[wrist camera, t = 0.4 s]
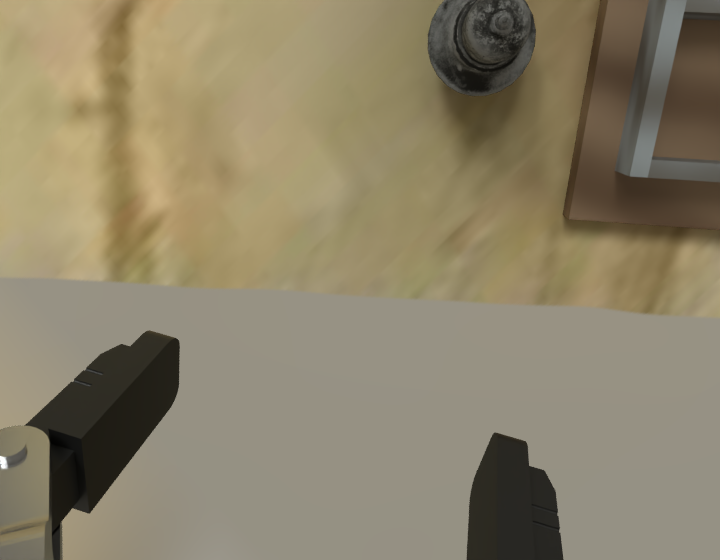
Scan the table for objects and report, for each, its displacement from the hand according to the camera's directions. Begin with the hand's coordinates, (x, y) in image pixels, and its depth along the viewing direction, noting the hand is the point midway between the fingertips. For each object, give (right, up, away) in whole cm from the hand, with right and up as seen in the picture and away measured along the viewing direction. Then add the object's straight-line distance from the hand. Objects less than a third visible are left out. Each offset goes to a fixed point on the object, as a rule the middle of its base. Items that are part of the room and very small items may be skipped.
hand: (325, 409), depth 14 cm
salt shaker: (+8, +18, +20) cm, 28 cm away
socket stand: (+22, +15, +20) cm, 33 cm away
